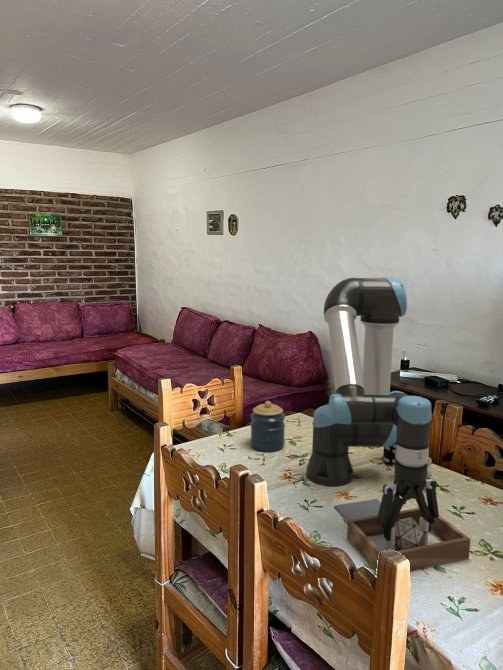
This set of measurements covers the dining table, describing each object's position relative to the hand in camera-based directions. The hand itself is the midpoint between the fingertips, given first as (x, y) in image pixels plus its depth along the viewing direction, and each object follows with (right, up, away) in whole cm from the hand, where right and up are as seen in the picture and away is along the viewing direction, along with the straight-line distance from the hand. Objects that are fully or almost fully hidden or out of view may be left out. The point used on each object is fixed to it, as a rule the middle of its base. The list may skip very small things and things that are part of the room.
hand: (406, 547), depth 121 cm
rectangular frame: (0, 0, 0) cm, 0 cm away
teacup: (+14, +5, +36) cm, 39 cm away
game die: (0, 0, 0) cm, 0 cm away
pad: (-6, +2, +16) cm, 17 cm away
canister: (-32, +10, +65) cm, 73 cm away
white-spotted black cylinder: (+12, +8, +51) cm, 53 cm away
